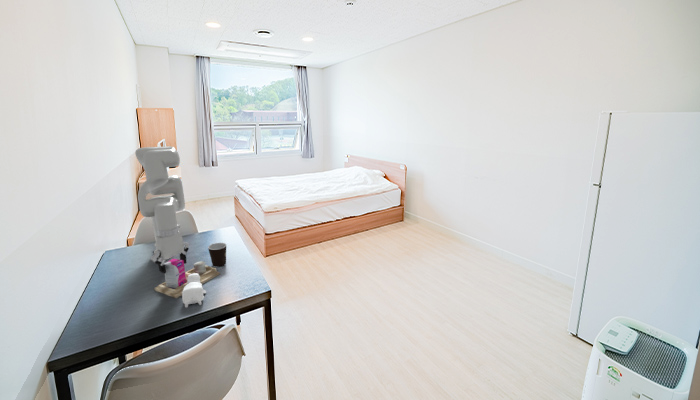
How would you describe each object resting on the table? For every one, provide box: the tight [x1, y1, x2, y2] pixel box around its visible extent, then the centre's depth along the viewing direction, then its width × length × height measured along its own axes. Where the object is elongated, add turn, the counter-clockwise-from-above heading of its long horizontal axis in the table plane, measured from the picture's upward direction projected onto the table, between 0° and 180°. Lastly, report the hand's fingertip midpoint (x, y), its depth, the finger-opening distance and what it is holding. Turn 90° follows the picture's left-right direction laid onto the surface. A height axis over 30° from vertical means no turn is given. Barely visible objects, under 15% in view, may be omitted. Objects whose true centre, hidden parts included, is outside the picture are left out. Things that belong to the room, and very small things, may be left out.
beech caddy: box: [154, 260, 221, 299], centre depth 145 cm, size 14×23×6 cm, turn 154°
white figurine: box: [181, 273, 207, 308], centre depth 132 cm, size 9×8×15 cm
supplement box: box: [164, 258, 186, 289], centre depth 139 cm, size 6×6×12 cm
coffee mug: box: [207, 242, 227, 268], centre depth 163 cm, size 12×9×10 cm
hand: (173, 267), depth 138 cm, fingers open, 9 cm apart
